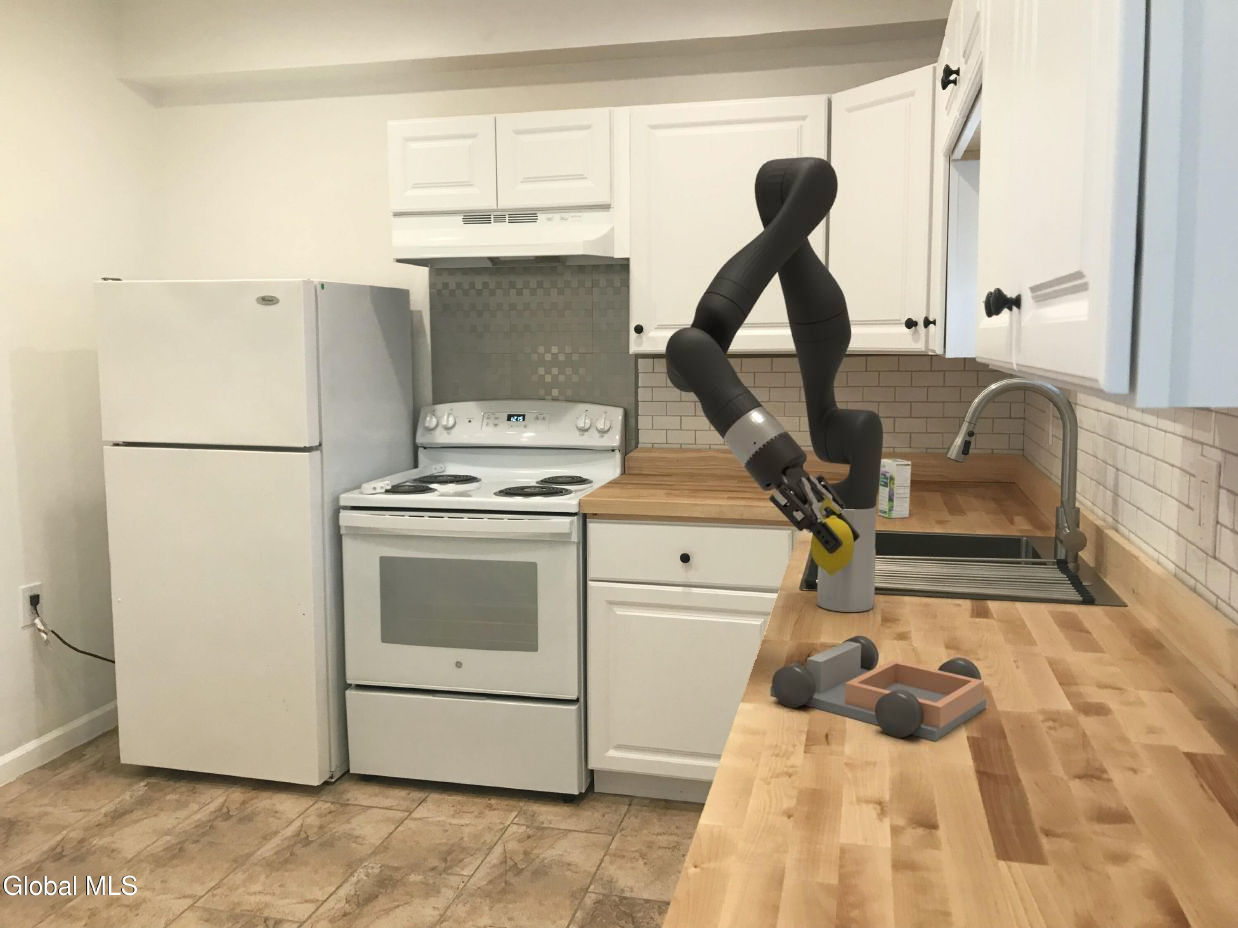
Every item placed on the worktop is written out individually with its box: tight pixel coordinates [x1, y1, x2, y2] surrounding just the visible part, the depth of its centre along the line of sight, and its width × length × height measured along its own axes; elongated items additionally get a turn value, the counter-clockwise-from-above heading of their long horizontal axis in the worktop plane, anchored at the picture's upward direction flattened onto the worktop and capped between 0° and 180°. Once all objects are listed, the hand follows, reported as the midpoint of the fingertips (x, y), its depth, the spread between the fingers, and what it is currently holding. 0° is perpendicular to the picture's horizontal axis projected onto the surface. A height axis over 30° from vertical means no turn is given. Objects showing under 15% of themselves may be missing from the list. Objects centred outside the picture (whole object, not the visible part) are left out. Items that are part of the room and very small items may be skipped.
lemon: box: [810, 515, 854, 575], centre depth 134 cm, size 6×6×8 cm
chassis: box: [769, 635, 987, 742], centre depth 126 cm, size 18×22×5 cm
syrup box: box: [877, 458, 912, 519], centre depth 258 cm, size 6×6×14 cm
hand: (845, 545), depth 132 cm, fingers closed on lemon, 5 cm apart
